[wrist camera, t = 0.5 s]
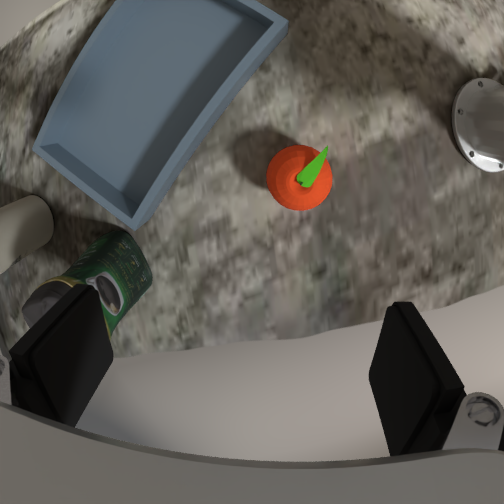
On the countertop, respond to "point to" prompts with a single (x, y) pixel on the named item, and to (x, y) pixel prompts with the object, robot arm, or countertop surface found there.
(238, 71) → the bin
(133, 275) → the coffee jar
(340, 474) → the robot arm
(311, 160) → the clementine
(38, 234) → the travel mug
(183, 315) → the countertop surface
